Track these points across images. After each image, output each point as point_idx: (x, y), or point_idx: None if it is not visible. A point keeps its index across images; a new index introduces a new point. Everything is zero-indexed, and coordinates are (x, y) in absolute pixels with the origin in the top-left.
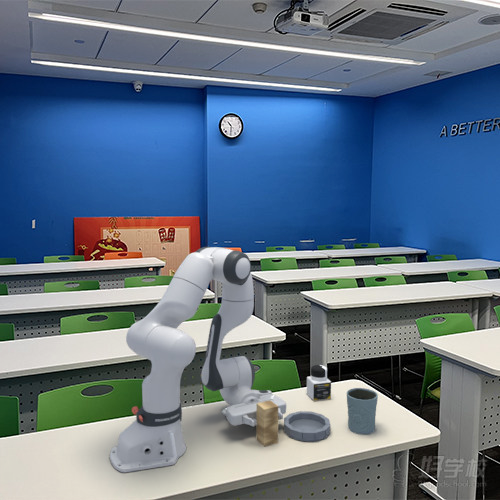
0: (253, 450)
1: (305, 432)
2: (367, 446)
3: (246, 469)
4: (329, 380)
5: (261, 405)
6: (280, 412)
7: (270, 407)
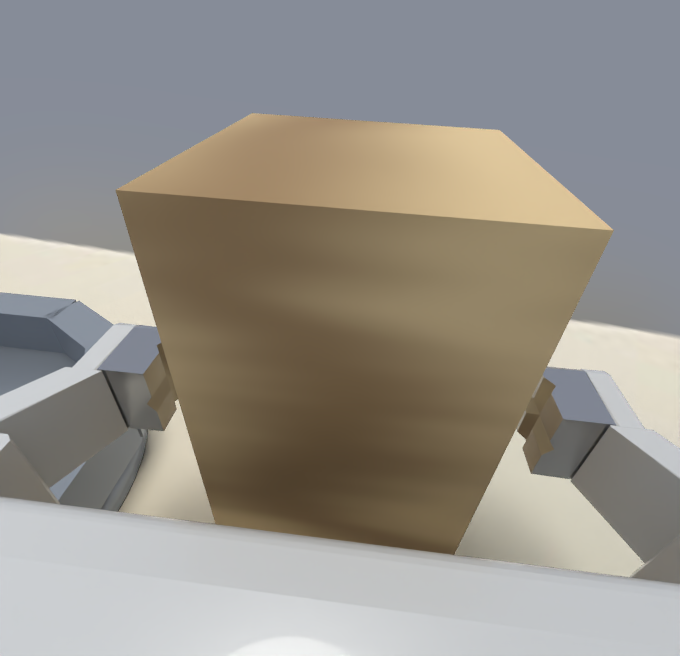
0: (511, 476)
1: (109, 326)
2: (8, 246)
3: (597, 356)
4: None
5: (498, 169)
6: (84, 356)
7: (375, 126)
